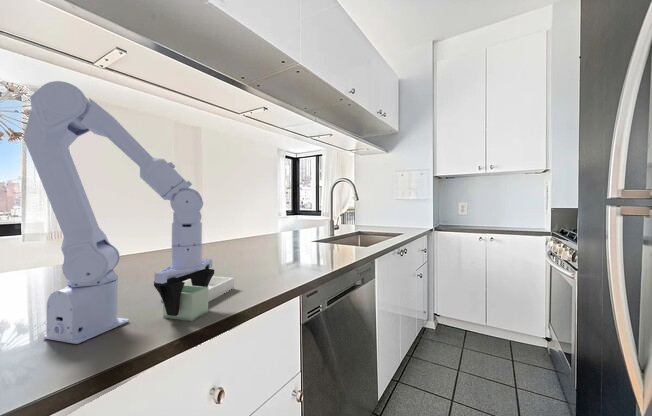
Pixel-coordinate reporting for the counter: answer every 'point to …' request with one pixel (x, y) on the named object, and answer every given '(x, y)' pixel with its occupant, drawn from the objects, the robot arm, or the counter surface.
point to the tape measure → (183, 278)
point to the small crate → (191, 303)
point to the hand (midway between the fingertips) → (186, 308)
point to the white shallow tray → (216, 286)
